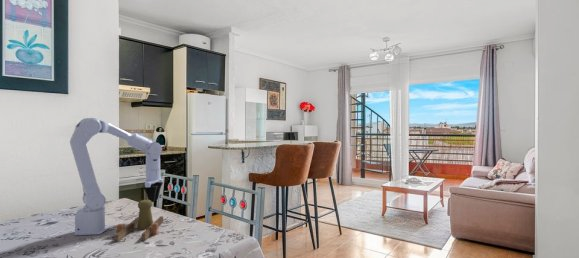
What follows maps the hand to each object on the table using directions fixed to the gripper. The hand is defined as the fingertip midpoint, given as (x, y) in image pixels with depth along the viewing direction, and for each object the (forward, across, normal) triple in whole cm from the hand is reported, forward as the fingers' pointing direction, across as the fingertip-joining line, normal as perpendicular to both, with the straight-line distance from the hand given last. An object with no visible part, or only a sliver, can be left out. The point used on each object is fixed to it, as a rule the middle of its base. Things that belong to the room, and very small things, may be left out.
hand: (153, 200), depth 136 cm
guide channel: (+8, -14, 0) cm, 17 cm away
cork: (+9, -10, 0) cm, 13 cm away
